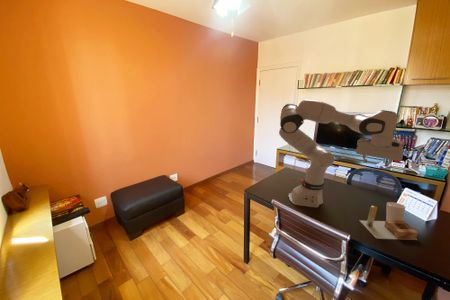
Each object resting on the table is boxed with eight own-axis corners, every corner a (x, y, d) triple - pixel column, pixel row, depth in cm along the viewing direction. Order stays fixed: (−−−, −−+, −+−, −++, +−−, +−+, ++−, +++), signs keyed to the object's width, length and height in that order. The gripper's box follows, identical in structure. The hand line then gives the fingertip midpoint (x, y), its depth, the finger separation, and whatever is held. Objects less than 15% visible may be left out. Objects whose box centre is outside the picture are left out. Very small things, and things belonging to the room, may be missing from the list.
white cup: (381, 218, 112) (383, 202, 110) (393, 217, 112) (395, 201, 111) (394, 225, 104) (396, 208, 103) (407, 224, 104) (409, 207, 103)
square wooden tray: (397, 238, 96) (399, 232, 95) (384, 226, 104) (385, 220, 103) (416, 239, 95) (418, 232, 94) (401, 226, 104) (403, 220, 103)
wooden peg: (368, 226, 104) (373, 208, 100) (365, 223, 107) (369, 205, 103) (373, 227, 104) (378, 208, 100) (370, 223, 106) (375, 205, 103)
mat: (376, 239, 96) (376, 238, 96) (359, 221, 109) (359, 220, 109) (417, 240, 95) (417, 239, 95) (395, 222, 108) (395, 221, 108)
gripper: (357, 139, 106) (352, 162, 110) (406, 145, 94) (399, 170, 98) (358, 137, 111) (354, 159, 115) (405, 142, 98) (398, 167, 102)
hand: (375, 164), depth 106 cm, fingers open, 8 cm apart
